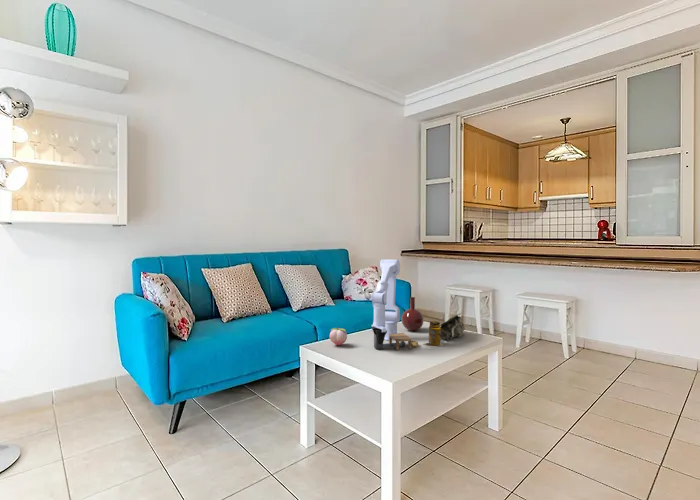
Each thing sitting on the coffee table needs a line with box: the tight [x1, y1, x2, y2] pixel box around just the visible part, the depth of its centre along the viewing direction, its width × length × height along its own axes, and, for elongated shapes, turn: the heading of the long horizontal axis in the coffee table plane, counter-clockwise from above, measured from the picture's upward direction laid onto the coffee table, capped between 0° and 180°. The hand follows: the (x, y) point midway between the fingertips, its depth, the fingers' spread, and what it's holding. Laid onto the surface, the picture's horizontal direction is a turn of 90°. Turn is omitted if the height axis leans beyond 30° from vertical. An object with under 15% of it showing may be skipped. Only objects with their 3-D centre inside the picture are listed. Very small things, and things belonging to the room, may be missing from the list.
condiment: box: [423, 320, 444, 349], centre depth 201 cm, size 7×8×12 cm
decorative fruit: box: [329, 326, 348, 346], centre depth 200 cm, size 9×8×10 cm
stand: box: [388, 332, 413, 351], centre depth 198 cm, size 11×8×5 cm
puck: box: [412, 340, 419, 348], centre depth 199 cm, size 5×5×2 cm
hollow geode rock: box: [440, 312, 466, 342], centre depth 215 cm, size 28×13×15 cm
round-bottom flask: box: [401, 296, 425, 332], centre depth 231 cm, size 13×13×20 cm
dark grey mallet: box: [373, 332, 407, 350], centre depth 196 cm, size 4×16×7 cm, turn 105°
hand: (379, 342), depth 195 cm, fingers closed on dark grey mallet, 4 cm apart
